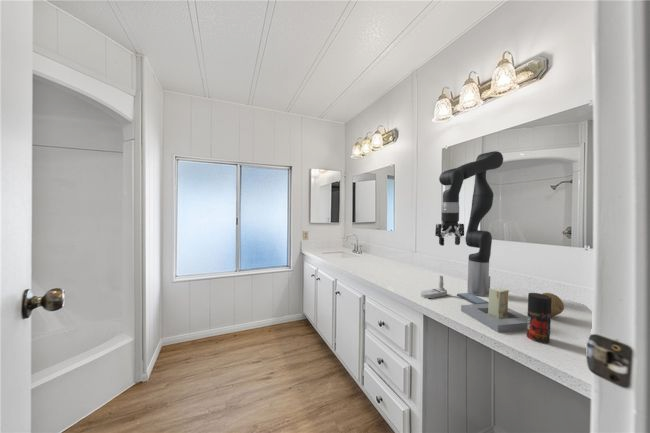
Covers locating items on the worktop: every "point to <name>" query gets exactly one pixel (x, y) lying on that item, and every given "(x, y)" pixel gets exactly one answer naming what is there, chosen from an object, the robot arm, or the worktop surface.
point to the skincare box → (498, 303)
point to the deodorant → (539, 317)
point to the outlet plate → (500, 325)
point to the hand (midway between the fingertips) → (449, 245)
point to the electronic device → (435, 291)
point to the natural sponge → (555, 304)
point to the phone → (472, 298)
